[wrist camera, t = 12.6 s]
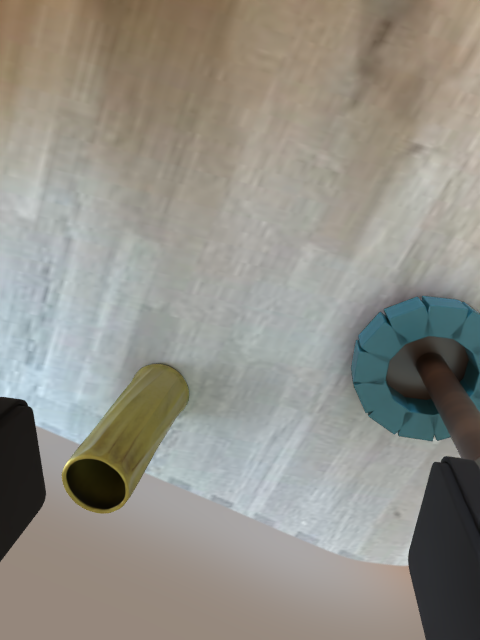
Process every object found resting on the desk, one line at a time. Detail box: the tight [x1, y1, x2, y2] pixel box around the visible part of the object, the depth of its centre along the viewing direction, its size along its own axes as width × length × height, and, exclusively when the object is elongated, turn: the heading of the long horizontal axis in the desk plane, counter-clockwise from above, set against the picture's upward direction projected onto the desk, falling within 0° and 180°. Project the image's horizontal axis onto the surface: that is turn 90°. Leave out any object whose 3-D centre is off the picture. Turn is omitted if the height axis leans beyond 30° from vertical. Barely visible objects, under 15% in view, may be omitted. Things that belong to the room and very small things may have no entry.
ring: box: [351, 296, 480, 441], centre depth 36 cm, size 12×12×3 cm
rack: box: [386, 336, 480, 468], centre depth 31 cm, size 8×8×15 cm
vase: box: [62, 364, 189, 513], centre depth 37 cm, size 6×6×14 cm
